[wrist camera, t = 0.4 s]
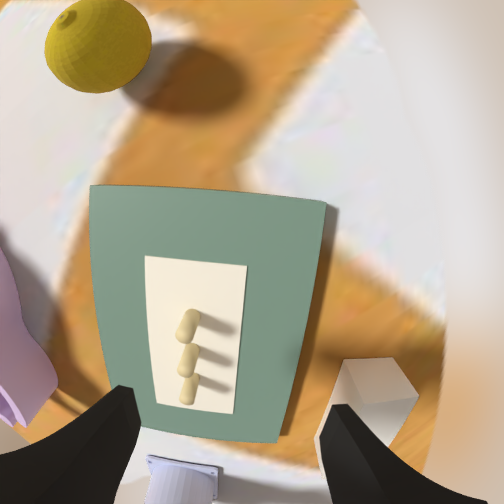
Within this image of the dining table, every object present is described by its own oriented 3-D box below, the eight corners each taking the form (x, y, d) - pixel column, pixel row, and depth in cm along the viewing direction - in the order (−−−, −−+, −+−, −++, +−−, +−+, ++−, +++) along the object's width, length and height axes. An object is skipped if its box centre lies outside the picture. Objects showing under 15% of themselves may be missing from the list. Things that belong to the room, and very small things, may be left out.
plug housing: (344, 454, 22) (354, 489, 18) (305, 457, 22) (311, 495, 17) (392, 357, 19) (419, 396, 14) (343, 359, 19) (364, 403, 14)
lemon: (166, 25, 13) (123, -44, 5) (169, 93, 14) (110, 38, 7) (94, 49, 13) (29, 6, 5) (92, 115, 14) (10, 91, 7)
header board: (275, 433, 21) (278, 464, 17) (124, 412, 21) (112, 439, 17) (321, 200, 16) (340, 207, 12) (99, 184, 16) (66, 187, 12)
